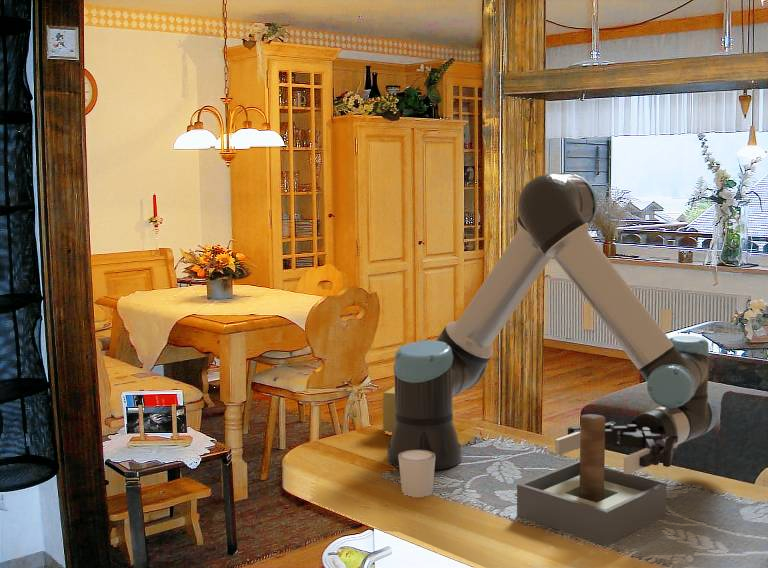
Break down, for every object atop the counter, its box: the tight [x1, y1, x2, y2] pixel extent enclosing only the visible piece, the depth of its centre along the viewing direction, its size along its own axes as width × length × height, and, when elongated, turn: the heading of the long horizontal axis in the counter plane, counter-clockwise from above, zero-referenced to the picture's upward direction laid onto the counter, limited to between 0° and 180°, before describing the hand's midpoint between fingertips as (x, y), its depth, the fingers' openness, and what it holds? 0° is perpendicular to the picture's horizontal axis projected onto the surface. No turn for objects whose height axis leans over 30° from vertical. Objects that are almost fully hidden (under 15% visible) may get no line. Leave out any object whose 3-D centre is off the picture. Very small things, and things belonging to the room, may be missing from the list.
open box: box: [516, 459, 667, 547], centre depth 150 cm, size 18×18×6 cm
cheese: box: [382, 385, 395, 433], centre depth 201 cm, size 10×11×10 cm
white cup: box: [398, 450, 435, 498], centre depth 163 cm, size 7×7×7 cm
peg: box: [579, 413, 606, 503], centre depth 150 cm, size 4×4×16 cm
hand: (590, 456), depth 149 cm, fingers open, 13 cm apart
